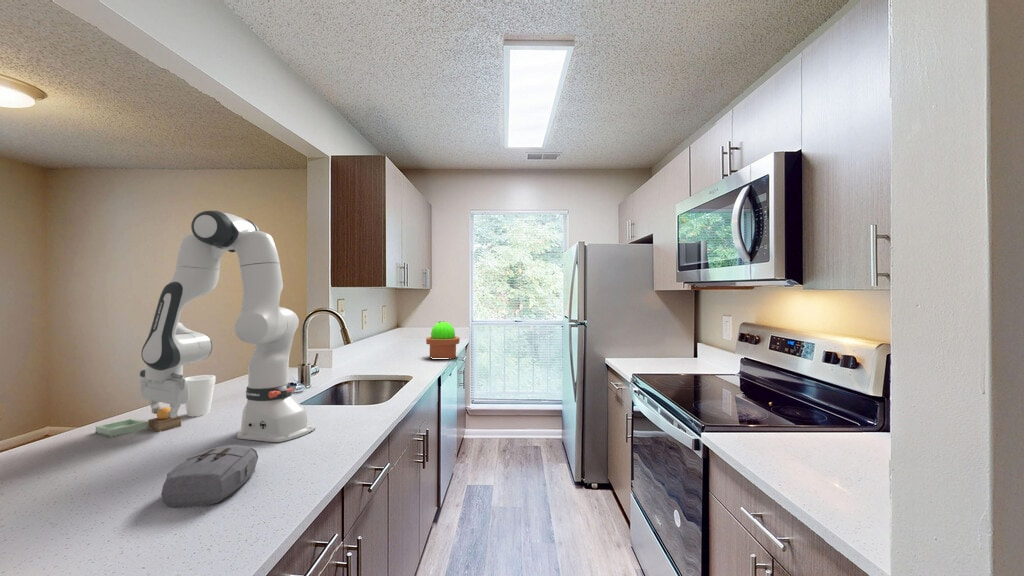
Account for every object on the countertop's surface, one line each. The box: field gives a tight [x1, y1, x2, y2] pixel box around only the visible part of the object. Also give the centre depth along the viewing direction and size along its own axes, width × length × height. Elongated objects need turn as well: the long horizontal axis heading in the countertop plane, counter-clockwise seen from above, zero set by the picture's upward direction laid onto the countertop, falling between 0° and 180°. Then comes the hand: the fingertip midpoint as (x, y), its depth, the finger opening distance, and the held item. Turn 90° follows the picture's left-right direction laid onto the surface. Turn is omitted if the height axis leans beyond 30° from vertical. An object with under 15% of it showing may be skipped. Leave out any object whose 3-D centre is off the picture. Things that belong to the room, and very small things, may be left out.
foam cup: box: [183, 374, 216, 417], centre depth 143 cm, size 10×9×13 cm
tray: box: [95, 417, 148, 438], centre depth 126 cm, size 9×9×2 cm
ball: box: [156, 406, 171, 420], centre depth 128 cm, size 4×4×4 cm
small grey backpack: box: [160, 444, 259, 509], centre depth 91 cm, size 15×8×20 cm
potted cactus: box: [425, 321, 460, 360], centre depth 267 cm, size 22×22×25 cm
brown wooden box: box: [147, 415, 182, 433], centre depth 128 cm, size 6×6×3 cm
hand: (164, 415), depth 128 cm, fingers open, 8 cm apart
